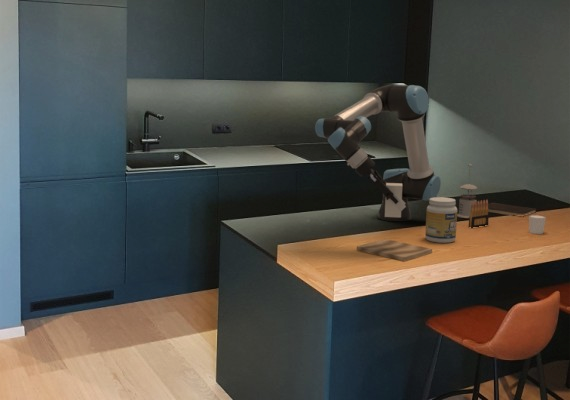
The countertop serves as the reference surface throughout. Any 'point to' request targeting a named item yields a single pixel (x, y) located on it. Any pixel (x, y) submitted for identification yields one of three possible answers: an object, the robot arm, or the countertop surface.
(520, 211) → the hardcover book
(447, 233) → the supplement tub
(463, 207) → the french press
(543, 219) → the white cup
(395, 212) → the off-white block
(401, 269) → the countertop surface
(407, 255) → the wooden board
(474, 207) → the ammunition clip
